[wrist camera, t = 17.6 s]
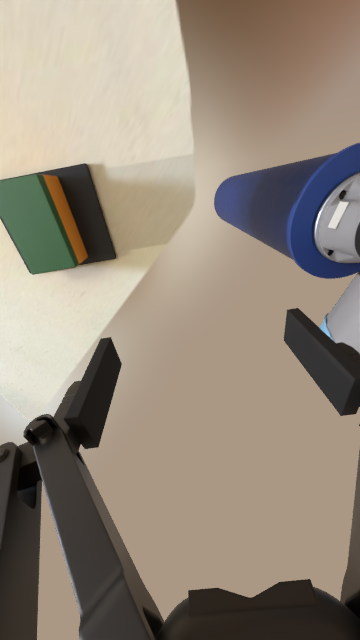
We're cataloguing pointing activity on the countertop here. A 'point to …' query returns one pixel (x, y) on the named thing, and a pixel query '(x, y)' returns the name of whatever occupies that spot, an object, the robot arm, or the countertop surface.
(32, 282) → the countertop surface
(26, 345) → the countertop surface
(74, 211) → the sink mat
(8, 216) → the sponge
